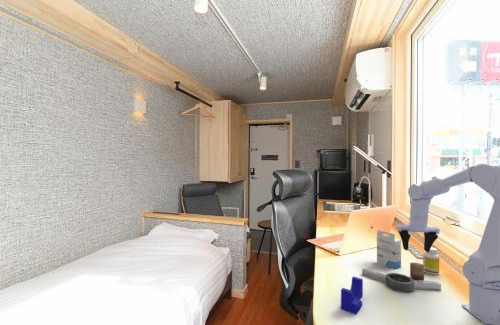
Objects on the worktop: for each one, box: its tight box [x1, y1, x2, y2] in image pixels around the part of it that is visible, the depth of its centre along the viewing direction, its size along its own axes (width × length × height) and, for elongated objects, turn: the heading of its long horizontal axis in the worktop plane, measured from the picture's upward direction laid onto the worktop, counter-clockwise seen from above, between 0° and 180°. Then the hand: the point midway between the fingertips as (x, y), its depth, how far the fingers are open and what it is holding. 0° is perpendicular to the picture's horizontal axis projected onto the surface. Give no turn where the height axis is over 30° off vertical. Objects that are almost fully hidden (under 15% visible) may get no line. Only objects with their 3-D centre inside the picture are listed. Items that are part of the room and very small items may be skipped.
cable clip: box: [340, 276, 364, 315], centre depth 79 cm, size 12×4×6 cm, turn 141°
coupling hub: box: [409, 262, 425, 280], centre depth 96 cm, size 5×4×6 cm
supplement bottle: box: [422, 246, 440, 276], centre depth 104 cm, size 5×5×10 cm
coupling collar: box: [361, 267, 442, 294], centre depth 93 cm, size 14×23×3 cm, turn 84°
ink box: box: [376, 229, 402, 270], centre depth 111 cm, size 8×5×15 cm, turn 29°
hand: (415, 250), depth 97 cm, fingers open, 7 cm apart
